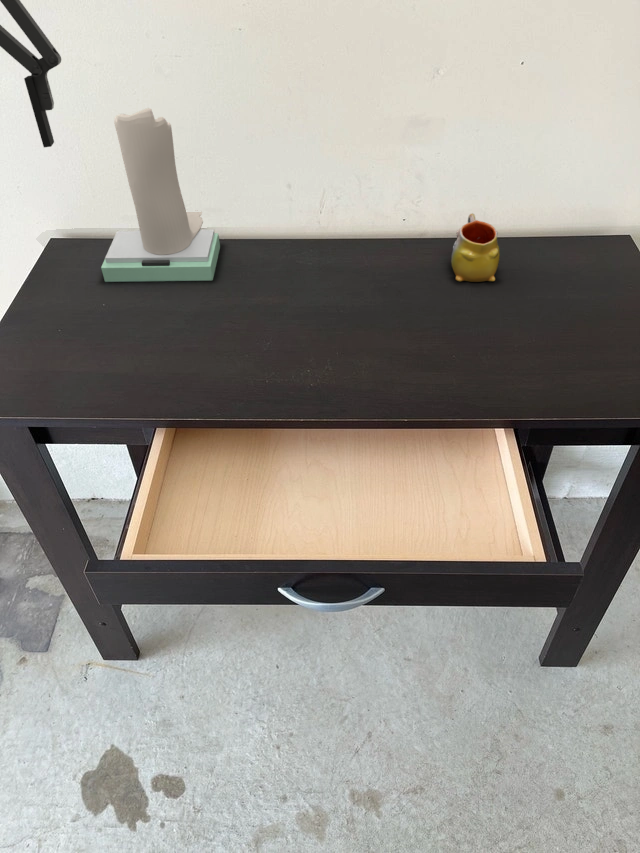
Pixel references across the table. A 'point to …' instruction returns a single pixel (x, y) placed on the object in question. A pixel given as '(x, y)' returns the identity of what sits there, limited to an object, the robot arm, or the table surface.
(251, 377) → the table surface
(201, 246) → the scale
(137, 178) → the candle
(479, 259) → the mug
